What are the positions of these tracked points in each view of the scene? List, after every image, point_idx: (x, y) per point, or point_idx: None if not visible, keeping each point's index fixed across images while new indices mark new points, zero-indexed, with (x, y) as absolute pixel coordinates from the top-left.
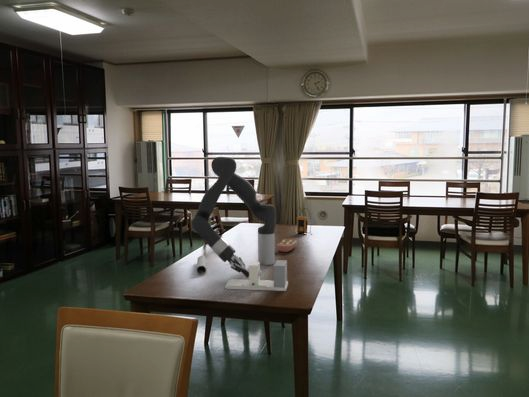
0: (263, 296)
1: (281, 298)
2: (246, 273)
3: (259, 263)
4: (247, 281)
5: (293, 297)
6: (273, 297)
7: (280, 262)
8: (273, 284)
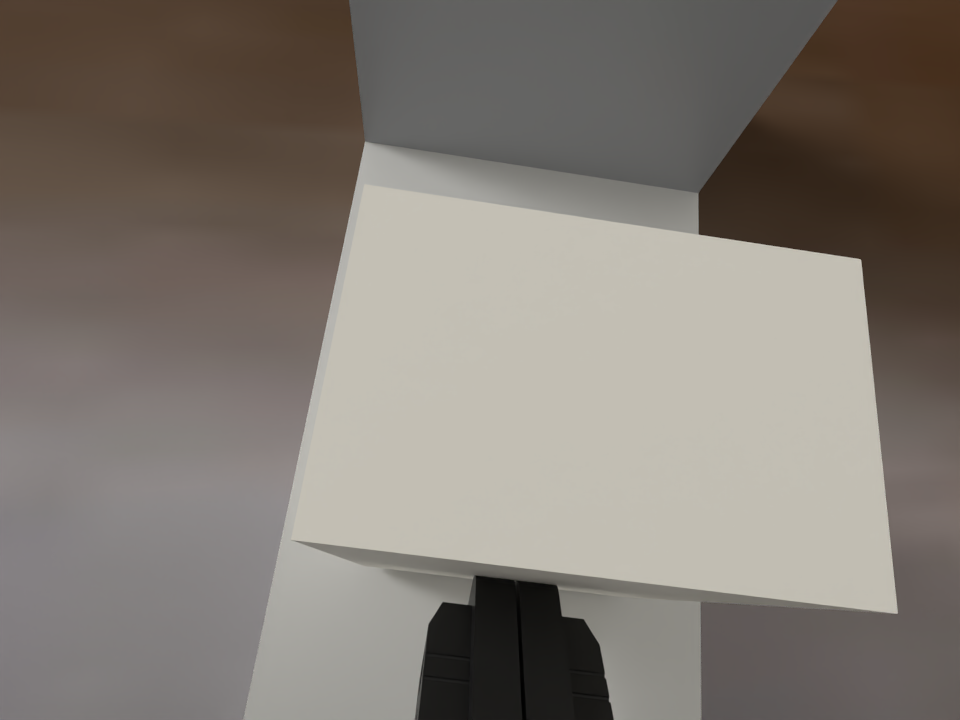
0: (945, 353)
1: (957, 149)
2: (603, 698)
3: (435, 213)
4: (388, 658)
5: (890, 33)
6: (948, 232)
7: None
8: (566, 191)
